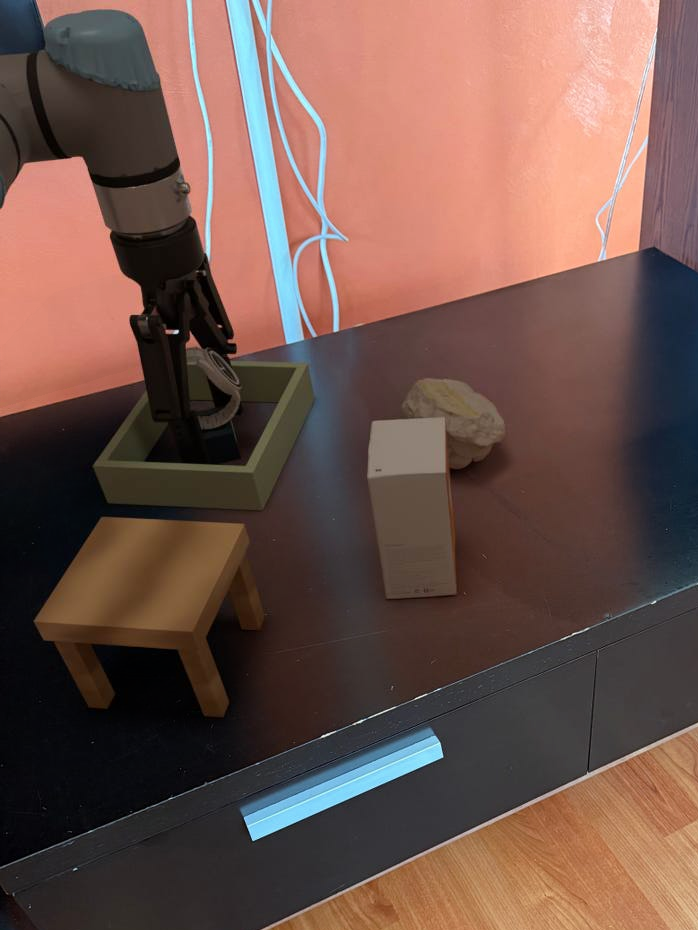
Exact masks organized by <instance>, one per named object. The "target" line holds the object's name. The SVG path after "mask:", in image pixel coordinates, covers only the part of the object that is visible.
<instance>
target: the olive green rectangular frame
mask: <svg viewBox="0 0 698 930" xmlns="http://www.w3.org/2000/svg"><path fill="white" fill-rule="evenodd" d="M230 362H231V366H232V370H233V371H234V372H235V374H236V375H237V377H238V379H239V380H240V383H241V386H242V387H241V389H239V390H238V391H239V395H240V401H241V402H245V403H246V402H251V403H254V402H255V403H277V404H276V407H275V408H274V411H273V412H272V415H271V417H270V418H269V420H268V422H267V423H266V426H265V428H264V430H263V432H262V433H261V435H260V438H259V440H258V441H257V443H256V445H255V447H254V449H253V451H252V452H251V455H250V457H249V458H248V461H247V463H246V464H245V465H229V464H228V465H226V464H213V465H206V464H183V463H182V462H181V463H180V462H158V461H155V462H153V461H146V459H147V458H148V456H149V455H150V454H151V452H152V450H153V448H154V447H155V446H156V444H157V442H158V441H159V439H160V438H161V436H162V435H163V433H164V431H165V430H166V428H167V427H168V425H170V424H169V423H167V422H154V421H153V419H152V415H151V410H150V405H149V400H148V395H147V390H146V389H145V391H144V392H143V394H142V395H141V397H140V398H139V400H138V401H137V403H136V404H135V405H134V406H133V408H132V409H131V411H130V412H129V414H128V416H127V417H126V418H125V420H124V421H123V422H122V423H121V425H120V427H119V428H118V429H117V431H116V432H115V434H114V435H113V436H112V438H111V439H110V441H109V443H107V445H106V446H105V448H104V450H103V451H102V452H101V453H100V455H99V457H98V458H97V459H96V460H95V462H94V463H93V464H92V468H93V470H94V473H95V475H96V478H97V480H98V483H99V485H100V487H101V489H102V492H103V494H104V497H105V500H106V502H107V504H115V505H116V504H119V505H135V506H136V505H138V506H159V507H177V508H178V507H179V508H180V507H181V508H199V509H200V508H201V509H202V508H203V509H224V510H243V511H264V509H265V507H266V504H267V503H268V500H269V498H270V496H271V494H272V492H273V489H274V488H275V486H276V483H277V482H278V479H279V477H280V475H281V473H282V470H283V469H284V467H285V465H286V462H287V460H288V458H289V455H290V453H291V452H292V449H293V447H294V445H295V443H296V441H297V439H298V436H299V435H300V432H301V430H302V428H303V426H304V424H305V421H306V419H307V417H308V416H309V413H310V411H311V409H312V406H313V405H314V402H315V400H316V397H315V392H314V387H313V382H312V376H311V372H310V371H311V370H310V367H309V366H310V365H309V363H308V362H291V361H290V362H289V361H255V360H254V361H251V360H250V361H249V360H230ZM187 371H188V385H189V398H190V401H213V398H212V394H211V391H210V387H209V384H208V380H207V377H206V374H205V373H204V371H203V370H202V368H200V367H199V366H197V365H196V362H190V361H189V362H188V363H187Z"/></svg>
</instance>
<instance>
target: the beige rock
mask: <svg viewBox="0 0 698 930" xmlns="http://www.w3.org/2000/svg"><path fill="white" fill-rule="evenodd" d="M400 407H401V408H400V419H420V418H439V417H445V418H446V428H447V445H448V457H449V469H452V470H462V469H464V468H466V467H468V465H469V464H470V463H472V461H473V462H475V463H476V462H479V461H483V460H484V458H486V457H487V456H488V455H489V454H490V452H491V451H492V447H493V445H494V444H498V443H501V442H503V440H504V438H505V436H506V424H505V420H504V418H503V417H502V416H501V414H499V411H498V409H497V406H495V404H494V403H493V402H491V401H490V399H488V398H486V397H485V396H483V394H481V393H479V392H475V391H474V389H472V388H471V386H470V385H468V384H467V383H465V382H463V381H459V380H457V379H449V378H441V379H439V378H438V379H437V378H432V377H425V378H424V379H419V380H417V381H416V382H415V383H413V385H412V387H411V388H410V389H409V391H408V392H407V394H406V396H405V400H404V401H403V402H402V404H401V406H400Z"/></svg>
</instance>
